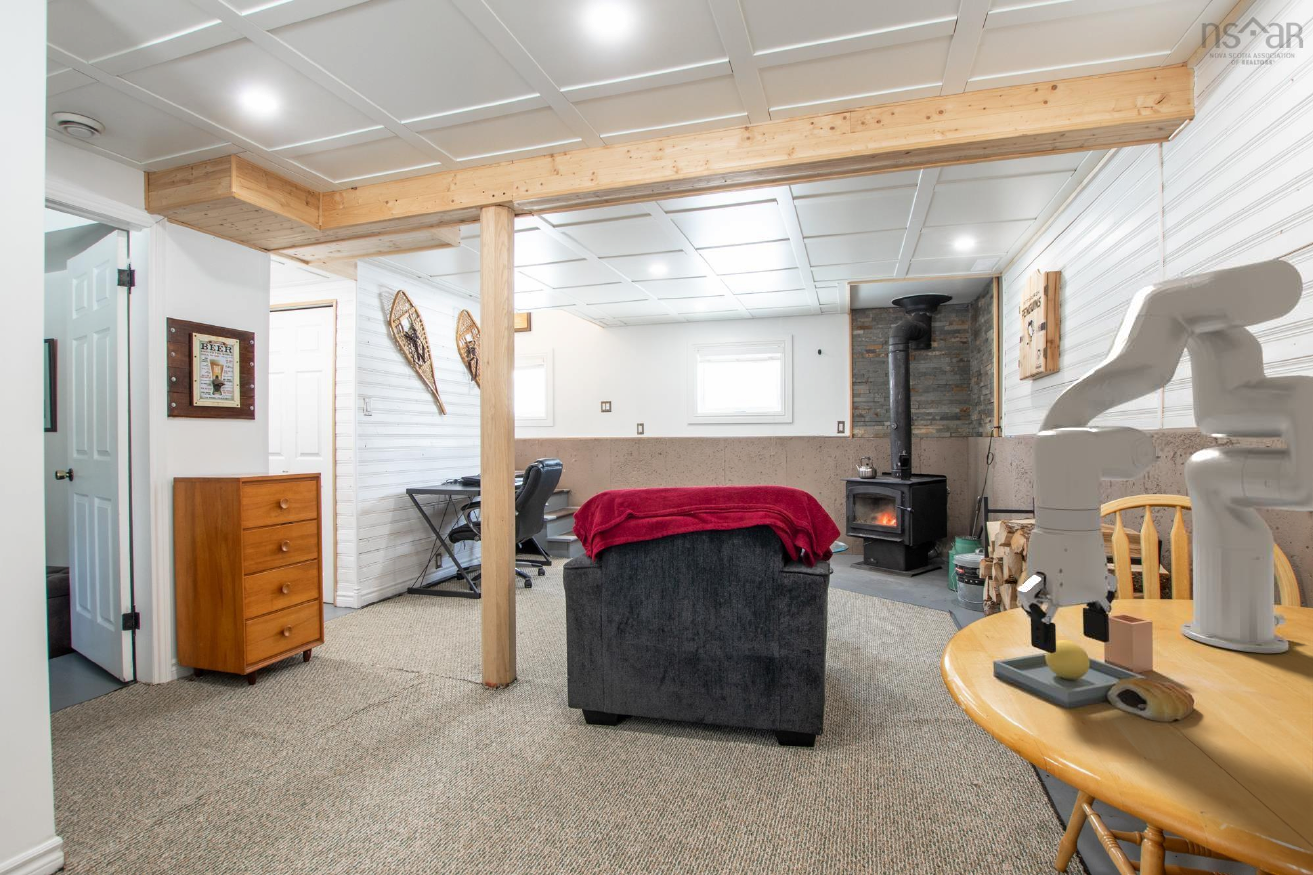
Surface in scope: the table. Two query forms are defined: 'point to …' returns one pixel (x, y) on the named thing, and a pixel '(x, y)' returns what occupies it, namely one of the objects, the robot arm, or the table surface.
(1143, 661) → the open box
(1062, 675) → the ball
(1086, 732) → the table surface
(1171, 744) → the table surface
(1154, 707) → the pastry
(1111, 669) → the tray
